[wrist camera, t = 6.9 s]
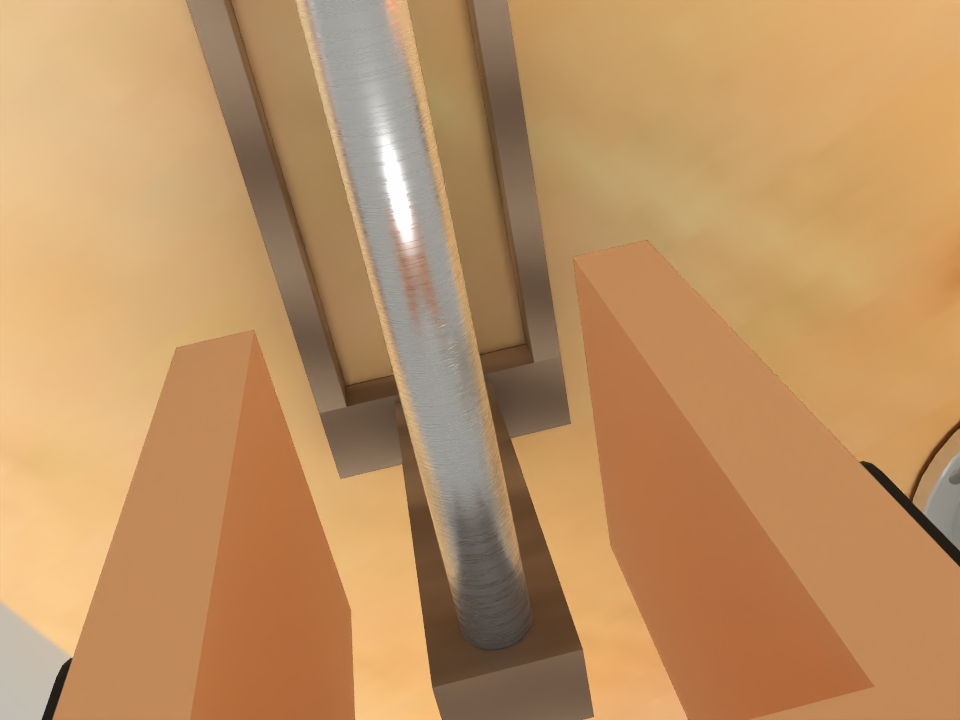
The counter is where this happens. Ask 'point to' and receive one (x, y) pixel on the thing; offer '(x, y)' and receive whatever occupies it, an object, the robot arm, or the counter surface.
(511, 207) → the stand
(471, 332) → the rail
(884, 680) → the u-slot holder
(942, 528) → the robot arm
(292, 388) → the counter surface
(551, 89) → the counter surface
